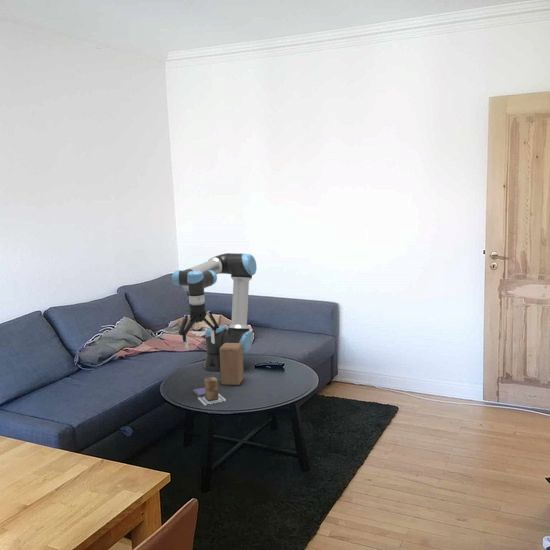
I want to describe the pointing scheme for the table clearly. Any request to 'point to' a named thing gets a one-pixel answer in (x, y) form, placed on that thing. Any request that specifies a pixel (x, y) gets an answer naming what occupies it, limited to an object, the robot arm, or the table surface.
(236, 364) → the wooden block
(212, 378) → the stamp
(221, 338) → the robot arm
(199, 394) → the ink pad
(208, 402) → the print card
